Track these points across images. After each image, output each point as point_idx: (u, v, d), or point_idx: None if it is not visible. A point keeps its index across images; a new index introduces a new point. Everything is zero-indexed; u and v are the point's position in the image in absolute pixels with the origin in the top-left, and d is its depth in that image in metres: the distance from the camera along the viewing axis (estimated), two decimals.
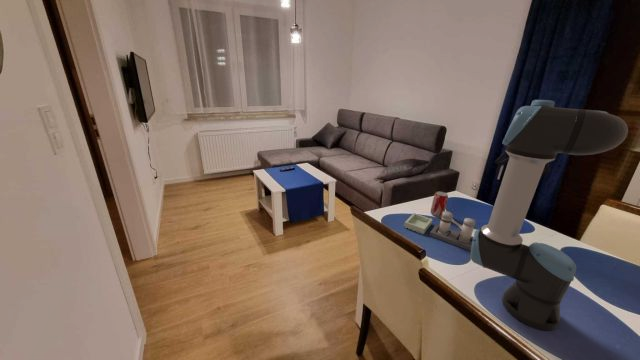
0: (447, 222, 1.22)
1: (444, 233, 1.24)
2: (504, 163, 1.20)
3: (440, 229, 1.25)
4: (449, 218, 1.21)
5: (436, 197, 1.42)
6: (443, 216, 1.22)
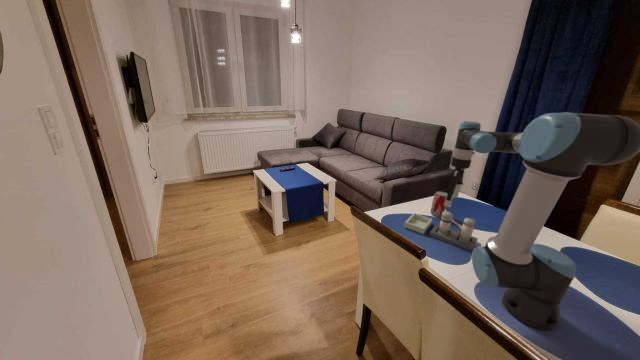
0: (447, 222, 1.22)
1: (444, 233, 1.24)
2: None
3: (440, 229, 1.25)
4: (449, 218, 1.21)
5: (436, 197, 1.42)
6: (443, 216, 1.22)
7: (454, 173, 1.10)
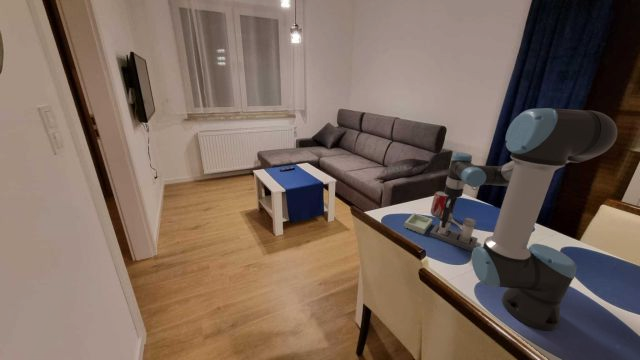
0: None
1: None
2: None
3: None
4: (449, 218, 1.21)
5: (436, 197, 1.42)
6: None
7: (446, 205, 1.16)
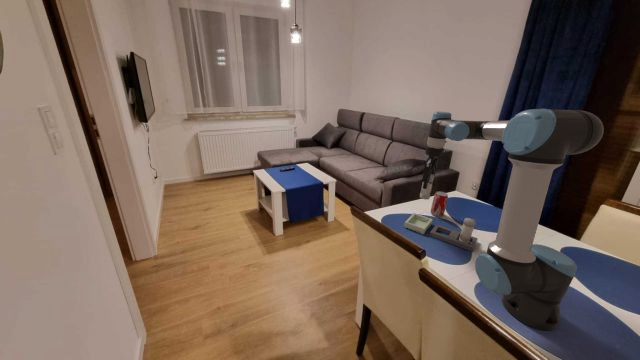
0: (429, 183, 1.23)
1: (426, 195, 1.26)
2: None
3: None
4: (430, 179, 1.22)
5: (436, 197, 1.42)
6: None
7: (426, 164, 1.17)
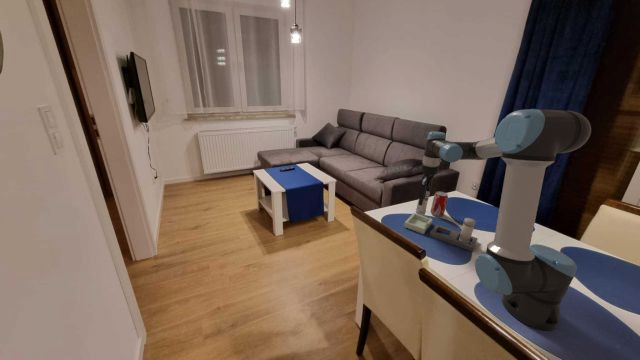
0: None
1: (422, 211, 1.29)
2: None
3: None
4: (426, 196, 1.26)
5: (436, 197, 1.42)
6: None
7: (422, 182, 1.20)
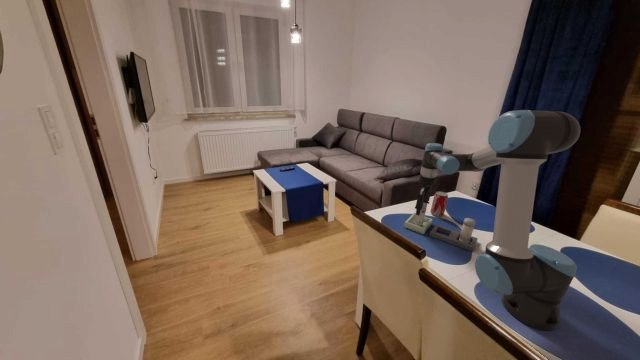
0: (422, 212, 1.29)
1: (419, 222, 1.31)
2: None
3: None
4: (423, 208, 1.28)
5: (436, 197, 1.42)
6: None
7: (420, 192, 1.22)
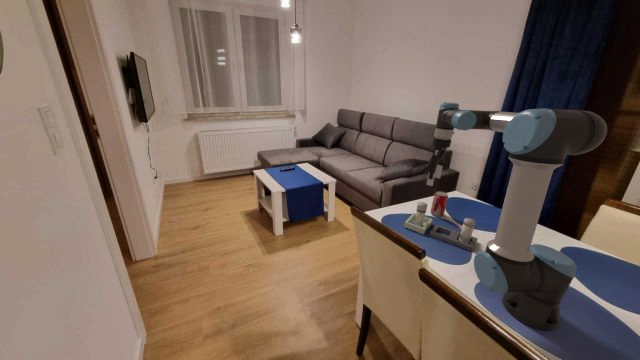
0: (422, 212, 1.29)
1: (419, 223, 1.31)
2: (437, 162, 1.28)
3: (416, 219, 1.32)
4: (423, 208, 1.28)
5: (436, 197, 1.42)
6: (418, 206, 1.29)
7: (435, 152, 1.15)
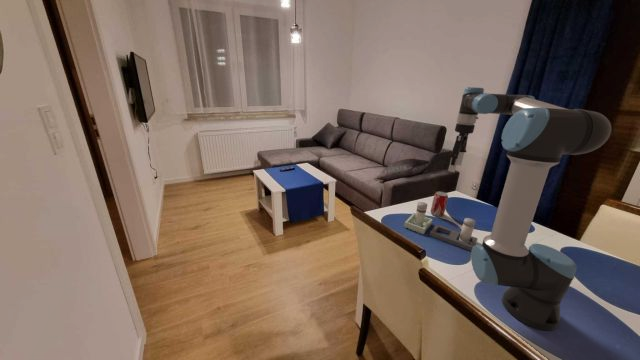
0: (422, 212, 1.29)
1: (419, 223, 1.31)
2: None
3: (416, 219, 1.32)
4: (423, 208, 1.28)
5: (436, 197, 1.42)
6: (418, 206, 1.29)
7: (458, 137, 1.14)
